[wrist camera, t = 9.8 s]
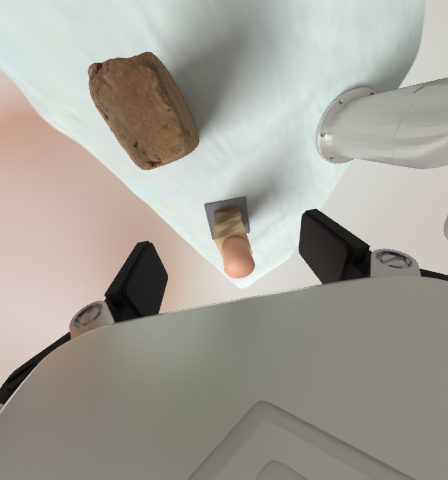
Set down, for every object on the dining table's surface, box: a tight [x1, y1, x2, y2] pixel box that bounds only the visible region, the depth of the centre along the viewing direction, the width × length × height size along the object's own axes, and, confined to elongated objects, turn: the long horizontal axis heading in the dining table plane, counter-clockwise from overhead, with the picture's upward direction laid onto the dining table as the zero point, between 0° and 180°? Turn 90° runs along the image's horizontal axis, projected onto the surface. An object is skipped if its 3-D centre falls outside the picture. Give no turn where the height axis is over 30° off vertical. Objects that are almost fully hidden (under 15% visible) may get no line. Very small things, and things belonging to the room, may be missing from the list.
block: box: [88, 52, 199, 170], centre depth 23 cm, size 11×8×20 cm
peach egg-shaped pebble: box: [222, 236, 255, 278], centre depth 30 cm, size 5×5×6 cm
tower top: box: [213, 216, 252, 258], centre depth 35 cm, size 6×6×6 cm
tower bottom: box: [214, 207, 243, 224], centre depth 40 cm, size 6×6×6 cm
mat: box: [204, 197, 249, 240], centre depth 43 cm, size 10×10×1 cm
